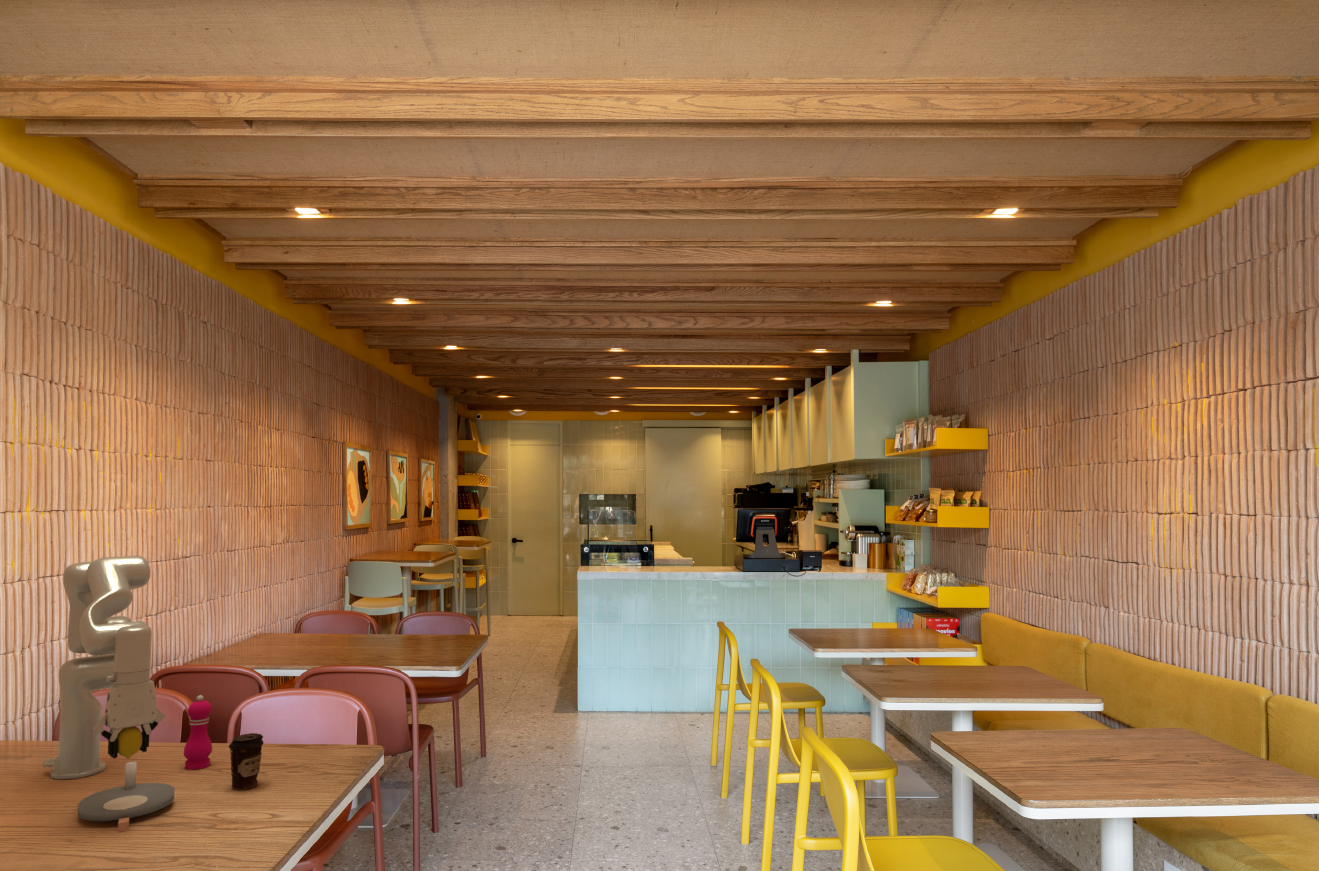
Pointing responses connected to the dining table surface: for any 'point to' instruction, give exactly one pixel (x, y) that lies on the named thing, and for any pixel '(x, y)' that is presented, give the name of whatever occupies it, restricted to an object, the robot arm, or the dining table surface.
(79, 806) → the turntable
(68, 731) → the robot arm
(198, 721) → the pepper mill
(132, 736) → the lemon
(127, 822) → the pink rectangular block
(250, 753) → the coffee cup
